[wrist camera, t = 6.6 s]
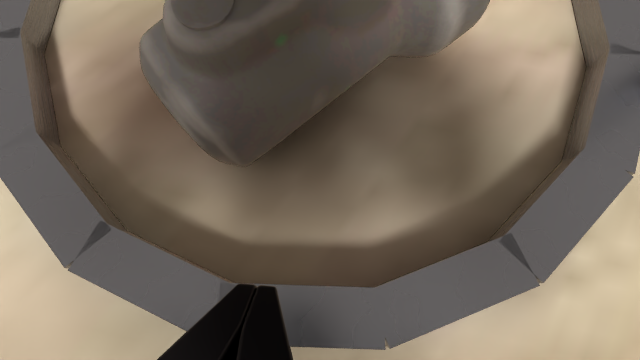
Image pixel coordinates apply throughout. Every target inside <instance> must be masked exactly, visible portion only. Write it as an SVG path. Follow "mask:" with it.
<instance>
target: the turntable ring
mask: <svg viewBox="0 0 640 360" xmlns="http://www.w3.org/2000/svg"><path fill="white" fill-rule="evenodd" d="M59 3H60V0H0V178H1V179H2V181H3V182H4V183H5V185H6V186H7V188H8V189H9V190H10V192H11V193H12V195H13V196H14V197H15V199H16V200H17V202H18V203H19V204H20V206H21V207H22V209H23V210H24V211H25V213H26V214H27V216H28V217H29V219H30V220H31V221H32V223H33V224H34V226H35V227H36V228H37V230H38V231H39V233H40V234H41V235H42V237H43V238H44V240H45V241H46V242H47V244H48V245H49V247H50V248H51V249H52V251H53V252H54V254H55V255H56V256H57V258H58V259H59V261H60V262H61V264H62V265H63V266H64V268H69V269H68V271H70V272H72V273H74V274H76V275H78V276H80V277H82V278H84V279H86V280H88V281H90V282H92V283H93V284H95V285H97V286H99V287H101V288H103V289H105V290H107V291H109V292H111V293H113V294H115V295H117V296H119V297H121V298H123V299H125V300H127V301H129V302H131V303H133V304H135V305H137V306H138V307H140V308H142V309H144V310H146V311H148V312H150V313H152V314H154V315H156V316H158V317H160V318H162V319H164V320H166V321H168V322H170V323H172V324H174V325H176V326H178V327H180V328H182V329H184V330H185V331H188V330H189V329H190V328H191V327H192V326H193V325H194V324H196V323H197V322H198V321H199V320H200V319H201V318H202V317H203V316H204V315H205V314H206V313H207V312H208V311H209V310H210V309H212V308H213V307H214V306H215V305H216V304H217V303H218V302H219V301H220V300H221V299H222V298H223V297H224V296H225V295H226V294H228V293H229V292H230V291H231V290H232V289H233V288H234V287H235V286H236V285H237V284H240V283H234V282H232V281H229V280H227V279H225V278H223V277H221V276H219V275H217V274H215V273H213V272H211V271H209V270H207V269H205V268H203V267H200V266H198V265H196V264H194V263H192V262H190V261H188V260H186V259H184V258H182V257H180V256H178V255H176V254H174V253H171V252H169V251H167V250H165V249H163V248H161V247H159V246H157V245H155V244H153V243H151V242H149V241H147V240H145V239H142V238H140V237H138V236H136V235H134V234H132V233H130V232H128V231H126V229H125V228H124V227H123V226H122V224H121V223H120V222H119V221H118V219H117V218H116V217H115V215H114V214H113V213H112V212H111V210H110V209H109V208H108V206H107V205H106V204H105V203H104V201H103V200H102V199H101V198H100V196H99V195H98V194H97V192H96V191H95V190H94V189H93V187H92V186H91V185H90V184H89V182H88V181H87V180H86V178H85V177H84V176H83V175H82V173H81V172H80V171H79V170H78V168H77V167H76V166H75V164H74V163H73V162H72V161H71V159H70V158H69V157H68V156H67V154H66V153H65V152H64V150H63V149H62V148H61V147H60V142H59V136H58V130H57V125H56V119H55V113H54V108H53V102H52V96H51V91H50V85H49V79H48V74H47V68H46V62H45V57H44V52H45V48H46V45H47V42H48V39H49V35H50V32H51V29H52V26H53V22H54V19H55V16H56V13H57V9H58V6H59ZM572 4H573V8H574V13H575V17H576V22H577V26H578V31H579V35H580V40H581V44H582V49H583V53H584V58H585V62H586V67H587V69H586V73H585V76H584V80H583V84H582V88H581V91H580V95H579V99H578V103H577V106H576V110H575V114H574V117H573V121H572V125H571V129H570V132H569V136H568V140H567V144H566V147H565V151H564V155H563V159H562V161H561V162H560V163H559V165H558V166H557V167H556V168H555V169H554V170H553V171H552V172H551V173H550V174H549V175H548V176H547V178H546V179H545V180H544V181H543V182H542V183H541V184H540V185H539V186H538V187H537V188H536V189H535V191H534V192H533V193H532V194H531V195H530V196H529V197H528V198H527V199H526V200H525V201H524V202H523V204H522V205H521V206H520V207H519V208H518V209H517V210H516V211H515V212H514V213H513V214H512V215H511V217H510V218H509V219H508V220H507V221H506V222H505V223H504V224H503V225H502V226H501V227H500V228H499V230H498V231H497V232H496V233H495V234H494V235H493V236H492V237H491V238H490V239H489V240H488V241H487V242H486V243H483V244H481V245H478V246H476V247H473V248H471V249H468V250H466V251H463V252H461V253H458V254H456V255H453V256H451V257H448V258H446V259H443V260H441V261H438V262H436V263H433V264H431V265H428V266H426V267H423V268H421V269H418V270H416V271H413V272H411V273H408V274H406V275H403V276H401V277H398V278H396V279H393V280H391V281H388V282H386V283H383V284H381V285H378V286H376V287H373V288H371V287H340V286H309V285H278V284H254V285H256V286H257V287H258V286H259V285H267V286H275V287H276V288H277V292H278V296H279V301H280V305H281V309H282V314H283V318H284V322H285V327H286V331H287V336H288V340H289V344H290V346H291V347H321V348H350V349H380V350H385V346H387V347H388V348H390V349H391V348H393V347H395V346H398V345H400V344H402V343H405V342H407V341H409V340H412V339H414V338H417V337H419V336H421V335H424V334H426V333H428V332H431V331H433V330H436V329H438V328H440V327H443V326H445V325H447V324H450V323H452V322H455V321H457V320H459V319H462V318H464V317H466V316H469V315H471V314H473V313H476V312H478V311H481V310H483V309H485V308H488V307H490V306H492V305H495V304H497V303H500V302H502V301H504V300H507V299H509V298H511V297H514V296H516V295H519V294H521V293H523V292H526V291H528V290H530V289H533V288H535V287H537V286H540V285H539V283H544V282H545V281H546V279H547V278H548V277H549V276H550V275H551V274H552V272H553V271H554V270H555V269H556V268H557V266H558V265H559V264H560V263H561V262H562V261H563V259H564V258H565V257H566V256H567V255H568V253H569V252H570V251H571V250H572V249H573V248H574V246H575V245H576V244H577V243H578V242H579V240H580V239H581V238H582V237H583V236H584V235H585V233H586V232H587V231H588V230H589V229H590V228H591V226H592V225H593V224H594V223H595V222H596V220H597V219H598V218H599V217H600V216H601V215H602V213H603V212H604V211H605V210H606V209H607V207H608V206H609V205H610V204H611V203H612V202H613V200H614V199H615V198H616V197H617V196H618V195H619V193H620V192H621V191H622V190H623V189H624V187H625V186H626V185H627V184H628V183H629V182H630V180H631V179H632V178H633V176H632V174H635V171H636V166H637V161H638V156H639V151H640V0H572ZM244 284H247V283H244Z"/></svg>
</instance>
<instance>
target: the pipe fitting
mask: <svg viewBox="0 0 640 360" xmlns="http://www.w3.org/2000/svg"><path fill="white" fill-rule="evenodd" d="M489 2H490V0H165V4H164V8H163V19H161V20H160V21H159V22H158V23H156V24H155V25H154V26H153V27H151V28H150V29H149V30H148V31H147V32H146V33H145V34H144V35H143V36H142V38H141V41H140V47H139V51H140V62H141V67H142V71H143V73H144V76H145V78H146V79H147V81H148V83H149V85H150V86H151V88H152V89H153V91H154V92H155V94H156V95H157V96H158V98H159V99H160V100H161V102H162V103H163V104H164V106H165V107H166V108H167V110H168V111H169V112H170V113H171V115H172V116H173V117H174V118H175V119H176V121H177V122H178V123H179V124H180V125H181V127H182V128H183V129H184V130H185V131H186V132H187V133H188V134H189V136H190V137H191V138H192V139H193V140H194V141H195V142H196V143H197V144H198V145H199V146H200V147H201V148H202V149H203V150H204V151H206V152H207V153H208V154H209V155H210V156H212V157H213V158H215V159H216V160H218V161H221V162H224V163H228V164H232V165H236V166H241V167H245V166H248V165H250V164H251V163H253V162H254V161H256V160H257V159H259V158H260V157H261V156H263V155H264V154H266V153H267V152H268V151H270V150H271V149H272V148H274V147H275V146H276V145H277V144H279V143H280V142H281V141H283V140H284V139H285V138H286V137H288V136H289V135H290V134H291V133H293V132H294V131H295V130H297V129H298V128H299V127H300V126H302V125H303V124H304V123H306V122H307V121H308V120H309V119H311V118H312V117H313V116H314V115H316V114H317V113H318V112H320V111H321V110H322V109H323V108H325V107H326V106H327V105H328V104H330V103H331V102H332V101H334V100H335V99H336V98H337V97H339V96H340V95H341V94H343V93H344V92H345V91H346V90H348V89H349V88H350V87H351V86H353V85H354V84H355V83H357V82H358V81H359V80H360V79H362V78H363V77H364V76H365V75H367V74H368V73H369V72H371V71H372V70H373V69H374V68H376V67H377V66H378V65H380V64H381V63H382V62H383V61H385V60H386V59H387V58H388V57H390V56H400V57H426V56H430V55H433V54H436V53H438V52H439V51H441V50H442V49H444V48H445V47H447V46H448V45H449V44H451V43H452V42H453V41H455V40H456V39H457V38H459V37H460V36H461V35H463V34H464V33H465V32H467V31H468V30H469V29H470V28H471V27H473V26H474V25H475V24H476V23H477V21H478V20H479V19H480V18H481V16H482V15H483V13H484V12H485V10H486V8H487V6H488V4H489Z"/></svg>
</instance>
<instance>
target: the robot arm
mask: <svg viewBox="0 0 640 360" xmlns="http://www.w3.org/2000/svg"><path fill="white" fill-rule="evenodd" d="M157 360H293V357H292V353H291V349H290V344H289V340H288V336H287V331H286V327H285V322H284V318H283V314H282V309H281V305H280V301H279V296H278V292H277V288H276V287H275V286H267V285H259V286H258V287H257V286H256V285H254V284H244V283H240V284H237V285H236V286H235V287H234V288H233V289H232V290H231V291H230V292H229V293H228V294H226V295H225V296H224V297H223V298H222V299H221V300H220V301H219V302H218V303H217V304H216V305H215V306H214V307H213V308H212V309H210V310H209V311H208V312H207V313H206V314H205V315H204V316H203V317H202V318H201V319H200V320H199V321H198V322H197V323H196V324H194V325H193V326H192V327H191V328H190V329H189V330H188V331H187V332H186V333H185V334H184V335H183V336H182V337H181V338H180V339H178V340H177V341H176V342H175V343H174V344H173V345H172V346H171V347H170V348H169V349H168V350H167V351H166V352H165V353H164V354H163V355H161V356H160V357H159V358H158V359H157Z"/></svg>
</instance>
